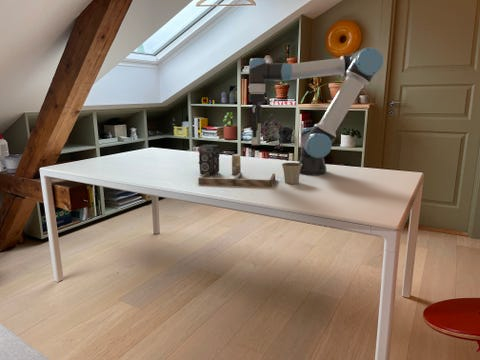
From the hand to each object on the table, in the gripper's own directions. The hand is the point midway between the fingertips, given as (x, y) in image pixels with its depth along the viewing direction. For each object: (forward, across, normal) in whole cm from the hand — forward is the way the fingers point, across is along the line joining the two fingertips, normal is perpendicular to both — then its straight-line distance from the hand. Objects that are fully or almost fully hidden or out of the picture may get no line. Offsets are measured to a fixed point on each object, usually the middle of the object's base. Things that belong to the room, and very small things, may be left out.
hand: (256, 143), depth 172 cm
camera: (+18, -3, -25) cm, 31 cm away
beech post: (+17, -6, -11) cm, 22 cm away
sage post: (+1, 0, 0) cm, 1 cm away
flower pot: (+17, +5, +18) cm, 26 cm away
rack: (+17, +10, -6) cm, 21 cm away
